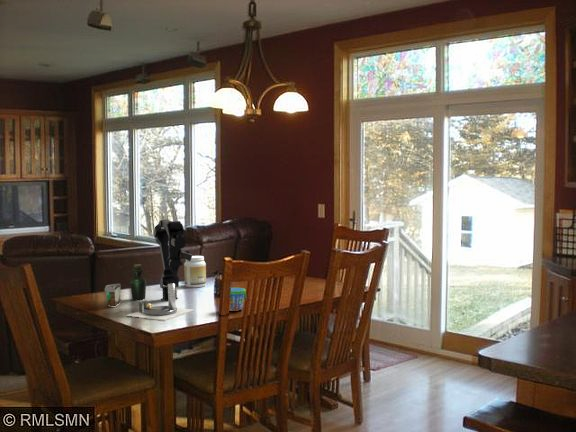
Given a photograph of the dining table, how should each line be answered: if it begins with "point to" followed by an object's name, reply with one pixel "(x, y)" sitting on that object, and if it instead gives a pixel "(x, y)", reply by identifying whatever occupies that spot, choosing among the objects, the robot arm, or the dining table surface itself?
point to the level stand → (158, 317)
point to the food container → (113, 294)
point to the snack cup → (237, 298)
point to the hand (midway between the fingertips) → (175, 277)
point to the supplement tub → (195, 272)
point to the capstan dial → (163, 309)
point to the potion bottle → (138, 284)
